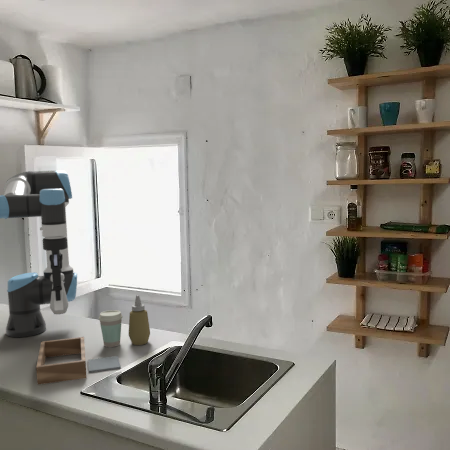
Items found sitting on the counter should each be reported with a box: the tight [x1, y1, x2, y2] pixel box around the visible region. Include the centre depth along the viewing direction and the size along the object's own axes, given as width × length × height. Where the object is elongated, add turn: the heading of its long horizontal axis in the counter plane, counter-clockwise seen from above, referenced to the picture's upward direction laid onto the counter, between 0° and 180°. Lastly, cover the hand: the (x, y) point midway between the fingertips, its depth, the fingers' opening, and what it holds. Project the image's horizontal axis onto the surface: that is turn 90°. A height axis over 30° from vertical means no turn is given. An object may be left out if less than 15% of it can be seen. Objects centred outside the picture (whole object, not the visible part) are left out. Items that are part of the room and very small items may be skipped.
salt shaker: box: [49, 273, 69, 315], centre depth 163 cm, size 6×6×13 cm
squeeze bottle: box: [128, 294, 151, 346], centre depth 185 cm, size 8×8×18 cm
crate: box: [35, 336, 88, 385], centre depth 165 cm, size 24×14×6 cm, turn 17°
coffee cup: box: [98, 309, 123, 348], centre depth 185 cm, size 8×8×12 cm
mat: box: [87, 355, 121, 373], centre depth 166 cm, size 10×10×1 cm
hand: (59, 307), depth 163 cm, fingers closed on salt shaker, 6 cm apart
